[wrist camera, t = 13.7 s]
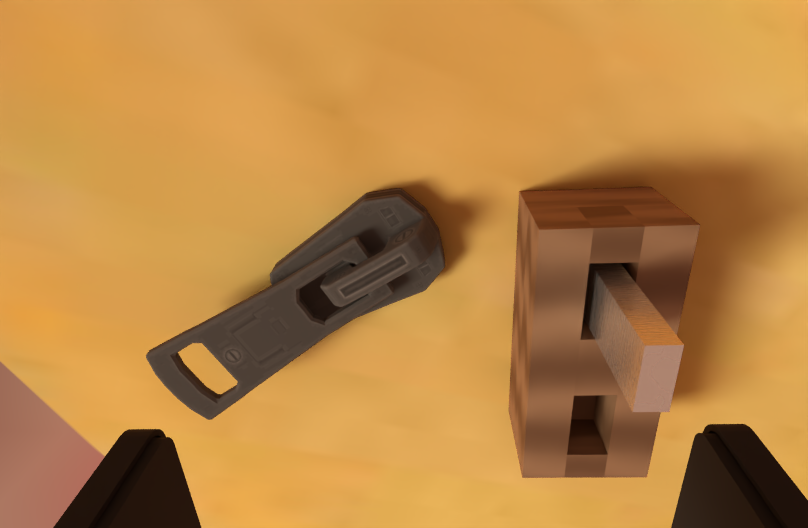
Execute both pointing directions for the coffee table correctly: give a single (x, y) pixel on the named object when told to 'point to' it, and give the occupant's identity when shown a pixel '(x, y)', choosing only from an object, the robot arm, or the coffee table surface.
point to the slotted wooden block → (569, 333)
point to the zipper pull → (311, 296)
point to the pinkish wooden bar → (632, 338)
